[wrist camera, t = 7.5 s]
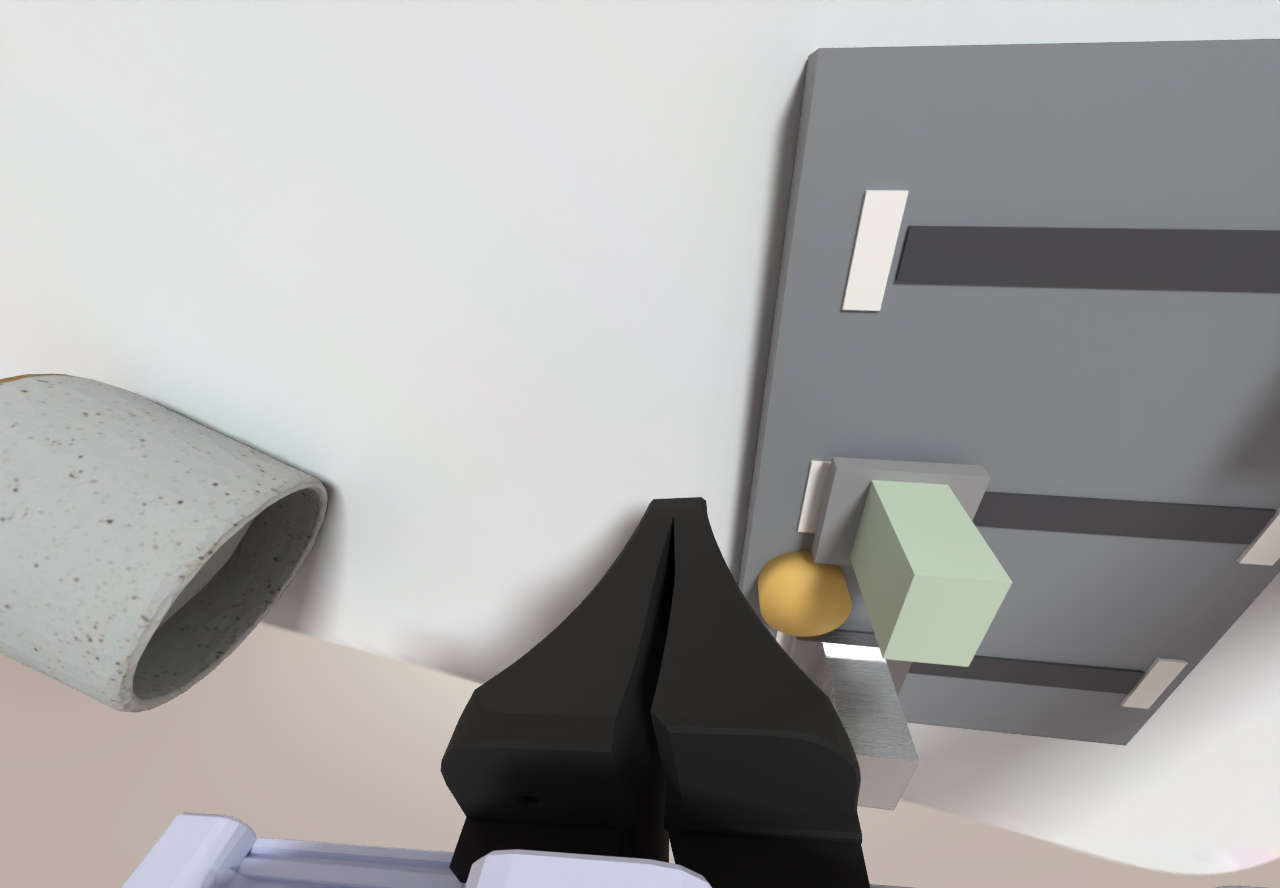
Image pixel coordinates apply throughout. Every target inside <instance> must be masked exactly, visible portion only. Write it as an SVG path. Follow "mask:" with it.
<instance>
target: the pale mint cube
mask: <svg viewBox="0 0 1280 888" xmlns="http://www.w3.org/2000/svg"><path fill="white" fill-rule="evenodd" d="M990 479H991V476H990V475H989V474H988V472H987V471H986V470H985V469H984V467H983V466H982V465H966V464H948V463H930V462H913V461H895V460H878V459H860V458H842V457H832V462H831V466H830V470H829V475H828V479H827V484H826V488H825V493H824V497H823V501H822V506H821V510H820V515H819V519H818V524H817V528H816V532H815V537H814V541H813V546H812V555H813V559H814V563H824V564H837V565H850V566H853V568H854V571H855V574H856V578H857V581H858V584H859V587H860V590H861V593H862V596H863V599H864V602H865V605H866V608H867V612H868V615H869V618H870V621H871V624H872V627H873V630H874V633H875V636H876V639H877V642H878V646H879V649H880V652H881V655H882V658H883V659H890V660H900V661H911V662H922V663H932V664H943V665H954V666H964V667H969V665H970V663H971V661H972V659H973V657H974V655H975V653H976V651H977V649H978V647H979V646H980V644H981V642H982V640H983V638H984V636H985V634H986V632H987V630H988V628H989V626H990V624H991V623H992V621H993V619H994V617H995V615H996V613H997V611H998V609H999V607H1000V605H1001V603H1002V601H1003V599H1004V598H1005V596H1006V594H1007V592H1008V590H1009V588H1010V586H1011V584H1012V581H1011V579H1010V578H1009V576H1008V575H1007V573H1006V572H1005V570H1004V569H1003V567H1002V566H1001V564H1000V563H999V561H998V560H997V558H996V556H995V555H994V553H993V552H992V550H991V549H990V547H989V546H988V544H987V543H986V541H985V540H984V538H983V537H982V535H981V534H980V532H979V531H978V529H977V528H976V526H975V525H974V523H973V522H972V521H973V519H974V516H975V514H976V512H977V509H978V507H979V505H980V502H981V500H982V498H983V495H984V493H985V490H986V488H987V486H988V483H989V481H990Z"/></svg>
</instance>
